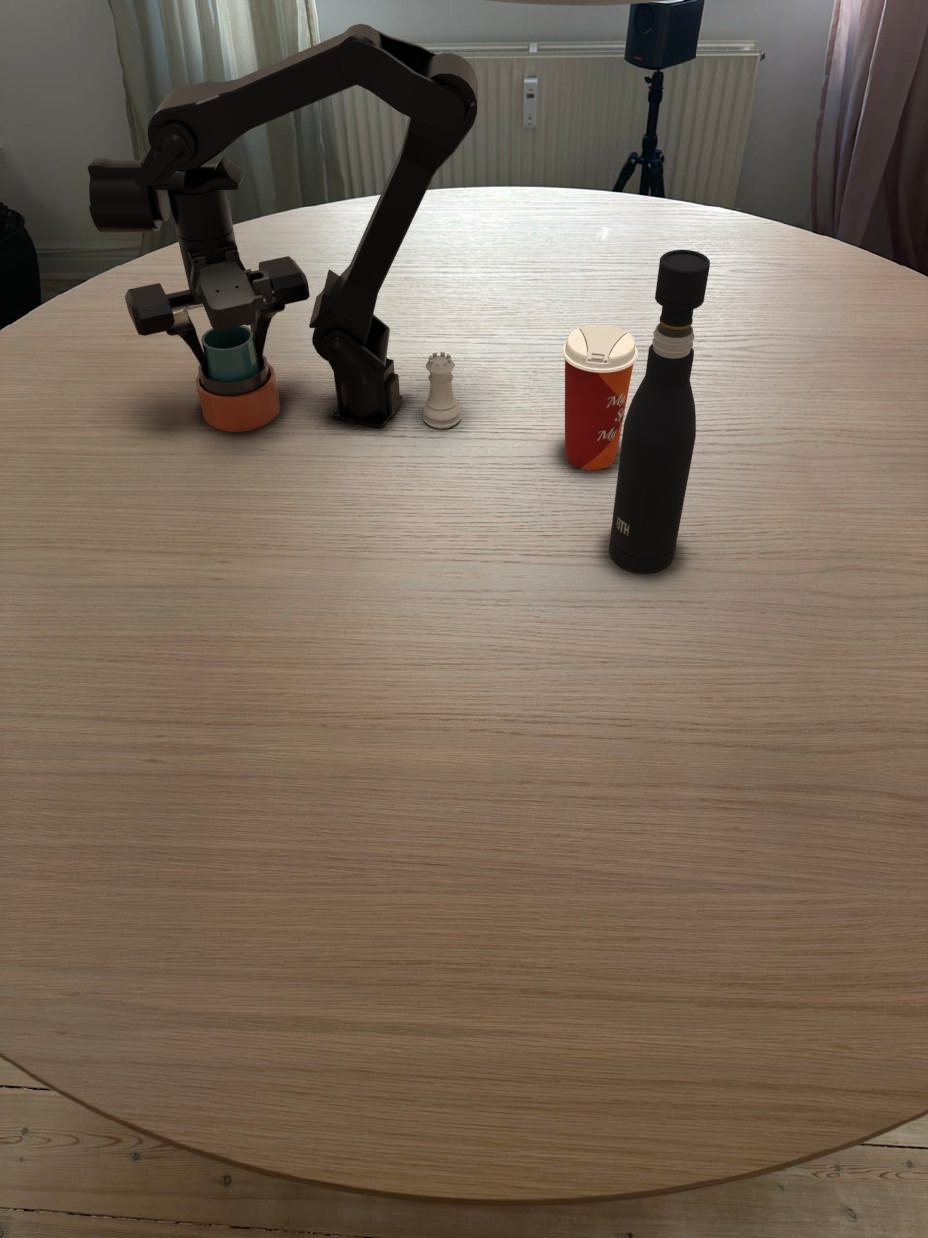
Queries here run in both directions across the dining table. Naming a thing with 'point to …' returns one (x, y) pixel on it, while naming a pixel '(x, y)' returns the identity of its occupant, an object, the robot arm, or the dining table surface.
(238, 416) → the stack base cup
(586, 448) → the paper cup
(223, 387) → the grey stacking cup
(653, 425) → the black insulated water bottle
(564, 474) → the dining table surface
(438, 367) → the rook chess piece
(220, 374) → the teal cup
